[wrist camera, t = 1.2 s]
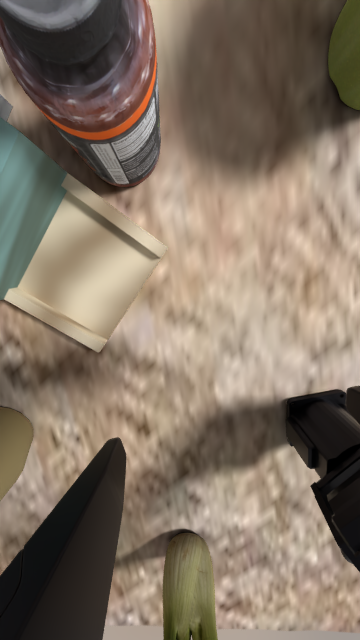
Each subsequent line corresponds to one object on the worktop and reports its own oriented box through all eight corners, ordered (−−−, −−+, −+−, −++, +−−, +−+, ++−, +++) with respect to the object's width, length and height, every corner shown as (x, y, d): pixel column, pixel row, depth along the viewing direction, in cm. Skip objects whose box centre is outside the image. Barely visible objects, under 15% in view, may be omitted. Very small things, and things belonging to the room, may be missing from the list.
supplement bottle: (65, 124, 15) (-176, -194, 5) (135, 79, 15) (49, -401, 4) (111, 204, 17) (13, 110, 6) (174, 166, 17) (190, -10, 6)
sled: (167, 248, 18) (168, 243, 12) (104, 344, 20) (75, 385, 14) (49, 160, 16) (-33, 92, 9) (-8, 279, 18) (-107, 291, 12)
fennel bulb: (161, 546, 30) (157, 729, 18) (170, 522, 28) (173, 704, 17) (200, 550, 30) (220, 728, 19) (210, 527, 29) (239, 704, 18)
